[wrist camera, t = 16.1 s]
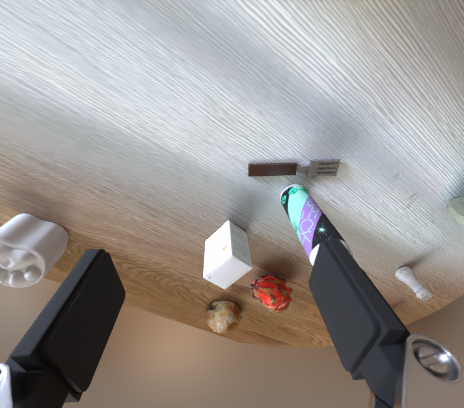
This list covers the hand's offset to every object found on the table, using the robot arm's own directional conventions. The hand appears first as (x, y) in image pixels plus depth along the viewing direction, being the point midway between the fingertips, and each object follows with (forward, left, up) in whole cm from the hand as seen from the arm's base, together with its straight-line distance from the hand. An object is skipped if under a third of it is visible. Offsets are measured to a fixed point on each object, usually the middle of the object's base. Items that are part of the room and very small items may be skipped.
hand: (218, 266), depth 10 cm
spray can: (+14, +15, -31) cm, 37 cm away
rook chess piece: (+39, +49, -31) cm, 70 cm away
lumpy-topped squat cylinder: (+23, -39, -31) cm, 55 cm away
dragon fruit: (+40, +12, -31) cm, 52 cm away
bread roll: (+52, 0, -31) cm, 60 cm away
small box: (+24, +1, -31) cm, 39 cm away
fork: (+8, +14, -30) cm, 34 cm away
